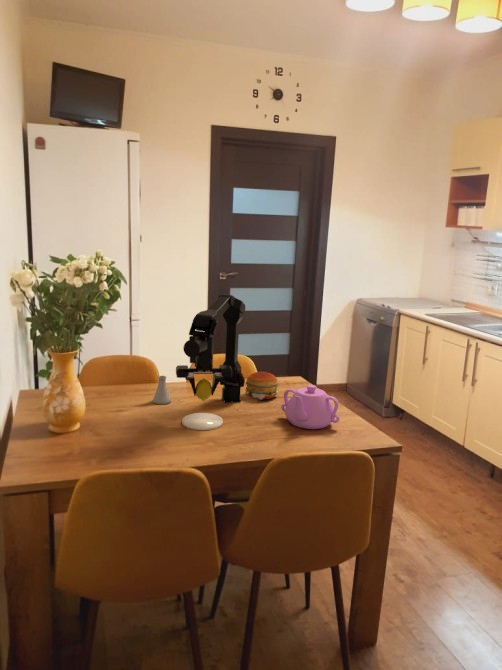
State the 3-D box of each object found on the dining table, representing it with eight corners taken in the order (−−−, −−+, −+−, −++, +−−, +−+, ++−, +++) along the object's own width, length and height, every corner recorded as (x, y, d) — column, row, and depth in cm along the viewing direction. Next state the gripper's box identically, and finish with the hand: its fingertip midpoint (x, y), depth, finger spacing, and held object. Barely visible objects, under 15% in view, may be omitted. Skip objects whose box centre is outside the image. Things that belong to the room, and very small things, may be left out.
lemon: (208, 404, 177) (209, 381, 175) (193, 402, 178) (193, 380, 176) (213, 399, 182) (214, 377, 181) (197, 397, 183) (198, 375, 182)
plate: (219, 415, 190) (219, 412, 190) (225, 429, 176) (225, 426, 176) (180, 416, 187) (180, 413, 187) (183, 431, 174) (183, 428, 173)
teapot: (264, 428, 180) (266, 389, 177) (290, 410, 199) (292, 374, 196) (325, 442, 170) (328, 401, 167) (346, 422, 189) (349, 385, 186)
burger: (278, 392, 219) (280, 369, 217) (277, 403, 206) (278, 378, 204) (246, 390, 220) (247, 367, 218) (243, 400, 207) (244, 376, 205)
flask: (169, 405, 198) (170, 379, 195) (150, 404, 198) (150, 378, 196) (172, 399, 205) (173, 374, 203) (154, 398, 205) (154, 373, 203)
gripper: (228, 345, 186) (226, 387, 189) (175, 345, 182) (174, 388, 186) (233, 353, 176) (231, 397, 179) (177, 353, 172) (176, 399, 175)
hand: (203, 395), depth 180 cm, fingers closed on lemon, 5 cm apart
